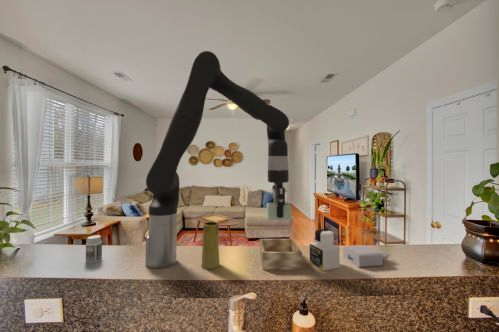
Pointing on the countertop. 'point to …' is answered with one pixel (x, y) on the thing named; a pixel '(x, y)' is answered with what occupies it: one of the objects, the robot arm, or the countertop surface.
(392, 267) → the countertop surface
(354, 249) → the charger
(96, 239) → the pill bottle
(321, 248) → the medicine bottle
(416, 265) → the countertop surface
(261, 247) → the crate large
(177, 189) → the robot arm
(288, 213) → the crate small
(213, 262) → the vase
